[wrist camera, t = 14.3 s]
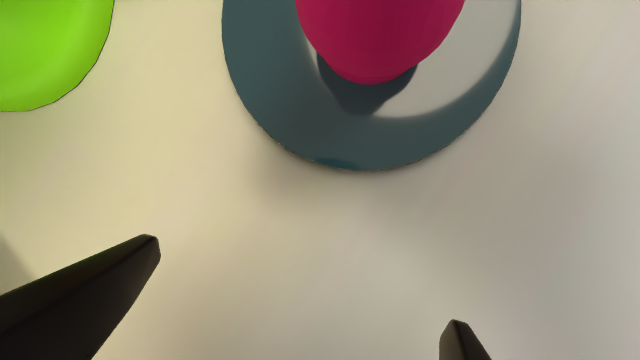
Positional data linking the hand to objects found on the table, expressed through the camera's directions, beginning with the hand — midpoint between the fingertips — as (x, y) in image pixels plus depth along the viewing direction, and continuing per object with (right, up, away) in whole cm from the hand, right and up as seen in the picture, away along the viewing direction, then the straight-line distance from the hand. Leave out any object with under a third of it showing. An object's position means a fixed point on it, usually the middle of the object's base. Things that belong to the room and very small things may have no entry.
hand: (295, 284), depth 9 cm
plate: (+3, +12, +10) cm, 16 cm away
